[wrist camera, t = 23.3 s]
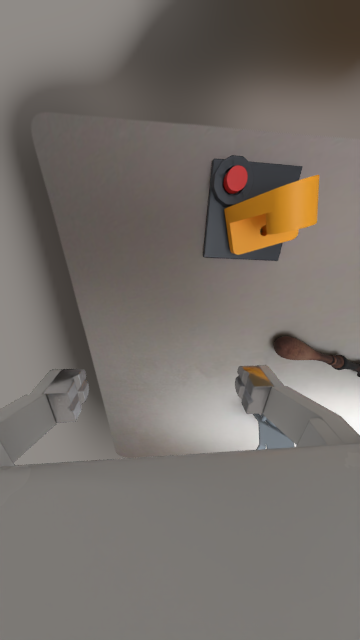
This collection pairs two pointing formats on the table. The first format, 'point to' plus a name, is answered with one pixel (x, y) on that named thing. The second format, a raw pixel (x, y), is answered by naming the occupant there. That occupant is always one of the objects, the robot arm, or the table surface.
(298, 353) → the chisel
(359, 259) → the table surface
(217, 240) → the scale
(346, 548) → the robot arm
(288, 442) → the bracket
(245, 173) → the button
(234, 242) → the bracket
